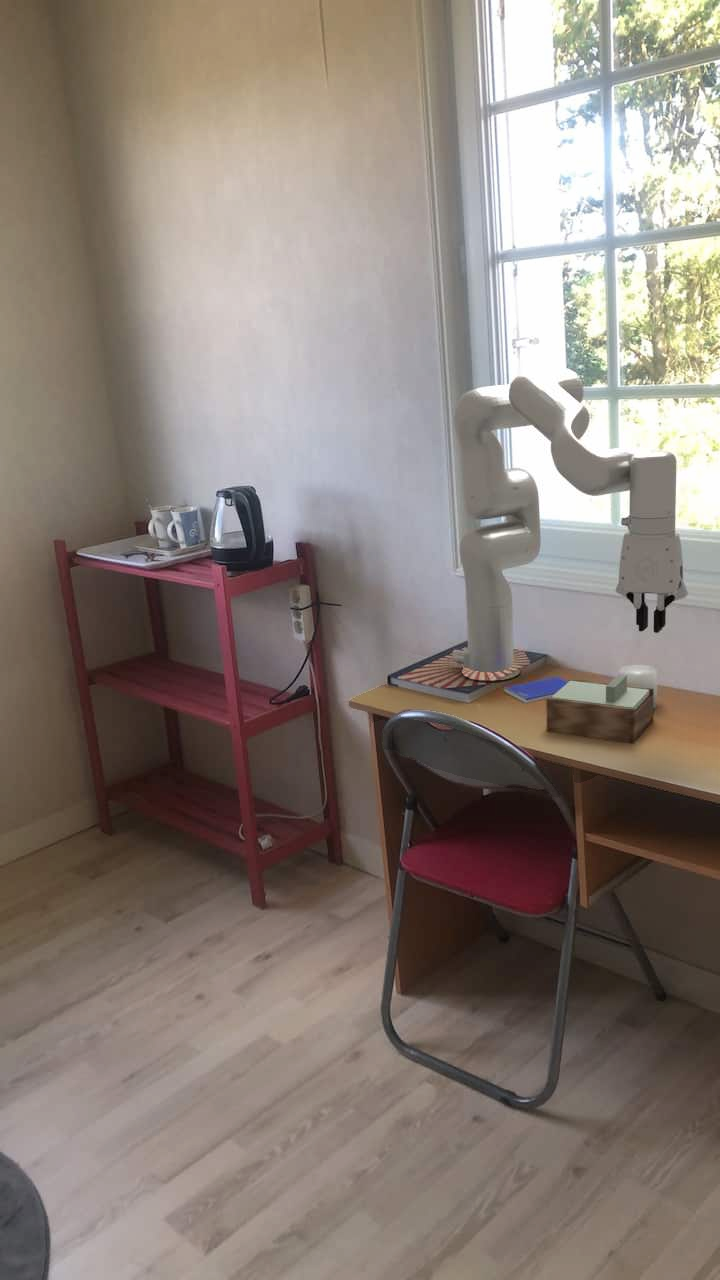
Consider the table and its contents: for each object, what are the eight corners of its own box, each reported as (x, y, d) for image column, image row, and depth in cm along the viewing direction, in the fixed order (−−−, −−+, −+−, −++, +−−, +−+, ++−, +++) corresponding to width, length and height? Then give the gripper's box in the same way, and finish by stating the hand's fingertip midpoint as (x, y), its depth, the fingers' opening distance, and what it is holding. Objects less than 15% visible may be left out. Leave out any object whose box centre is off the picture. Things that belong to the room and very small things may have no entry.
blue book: (525, 698, 213) (578, 686, 218) (503, 686, 220) (555, 675, 225) (525, 705, 214) (578, 693, 218) (503, 693, 221) (555, 682, 225)
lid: (551, 702, 198) (550, 682, 197) (570, 685, 206) (570, 666, 205) (632, 712, 190) (632, 692, 189) (649, 694, 198) (649, 675, 197)
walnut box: (546, 730, 199) (546, 698, 197) (569, 709, 208) (569, 678, 207) (633, 743, 191) (633, 709, 189) (653, 720, 200) (653, 688, 199)
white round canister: (614, 708, 208) (614, 673, 206) (625, 697, 213) (625, 663, 211) (650, 713, 204) (651, 677, 202) (661, 701, 210) (661, 666, 208)
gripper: (599, 527, 185) (599, 631, 191) (694, 531, 177) (691, 640, 183) (613, 519, 192) (612, 620, 197) (705, 523, 184) (702, 628, 189)
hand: (650, 629), depth 190 cm, fingers closed
